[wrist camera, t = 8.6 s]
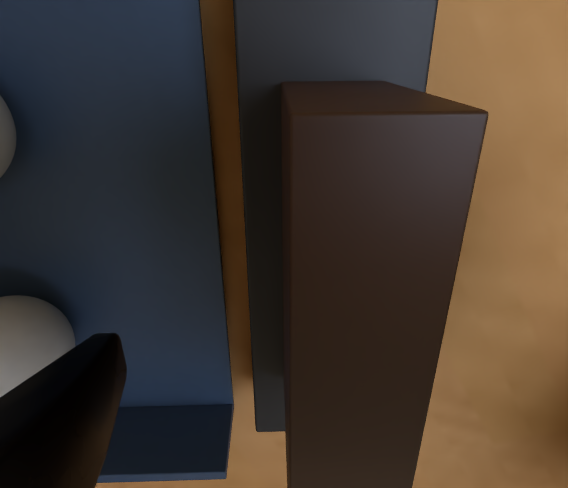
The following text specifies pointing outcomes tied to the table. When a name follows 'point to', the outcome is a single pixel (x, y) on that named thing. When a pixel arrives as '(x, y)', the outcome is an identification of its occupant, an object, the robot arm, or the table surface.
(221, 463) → the dustpan
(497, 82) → the table surface
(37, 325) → the paper ball
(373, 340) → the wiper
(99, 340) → the robot arm
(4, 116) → the white ball
